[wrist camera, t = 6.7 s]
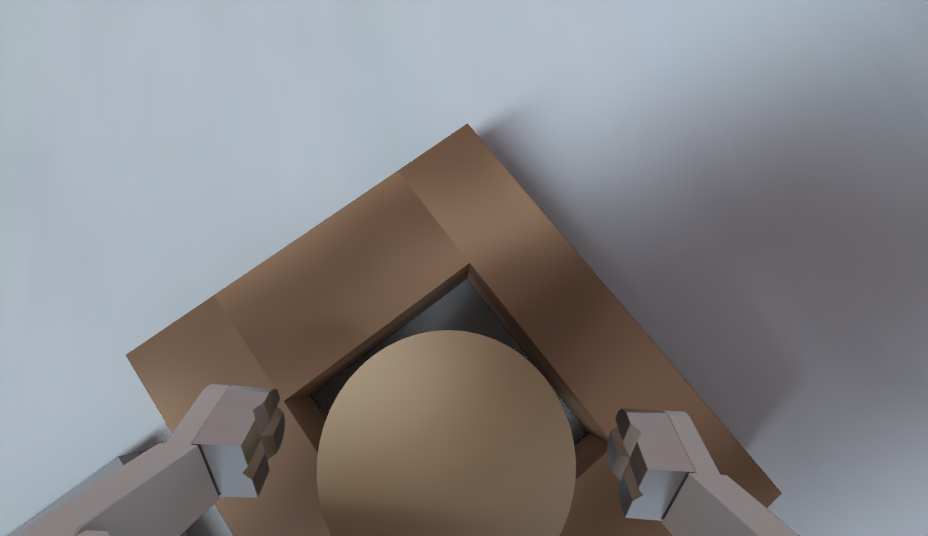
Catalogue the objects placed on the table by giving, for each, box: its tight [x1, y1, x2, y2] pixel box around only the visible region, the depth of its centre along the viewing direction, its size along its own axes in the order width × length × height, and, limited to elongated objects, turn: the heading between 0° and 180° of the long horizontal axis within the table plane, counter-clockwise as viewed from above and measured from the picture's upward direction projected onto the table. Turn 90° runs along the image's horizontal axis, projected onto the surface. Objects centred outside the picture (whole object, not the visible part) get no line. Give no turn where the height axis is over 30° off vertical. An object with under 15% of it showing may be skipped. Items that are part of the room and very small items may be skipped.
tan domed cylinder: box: [317, 330, 576, 536], centre depth 11 cm, size 4×4×8 cm
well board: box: [126, 124, 781, 536], centre depth 14 cm, size 15×13×2 cm
